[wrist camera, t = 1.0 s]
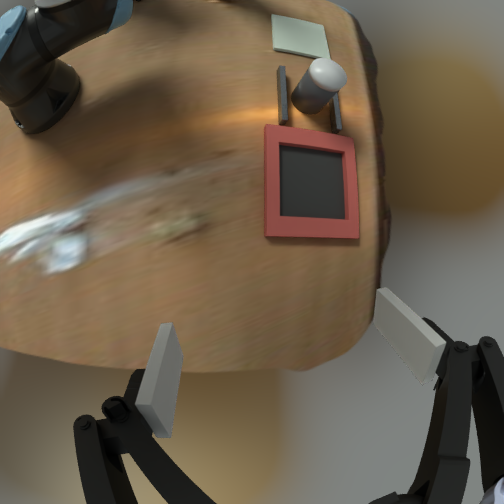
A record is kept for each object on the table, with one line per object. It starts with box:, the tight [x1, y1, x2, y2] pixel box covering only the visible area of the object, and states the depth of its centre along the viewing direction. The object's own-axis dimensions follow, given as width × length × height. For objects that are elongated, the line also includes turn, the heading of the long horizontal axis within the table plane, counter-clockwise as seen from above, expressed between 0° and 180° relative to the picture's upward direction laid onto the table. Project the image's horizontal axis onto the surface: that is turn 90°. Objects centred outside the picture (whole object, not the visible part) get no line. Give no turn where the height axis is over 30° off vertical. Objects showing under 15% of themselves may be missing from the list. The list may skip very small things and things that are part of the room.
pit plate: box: [264, 124, 359, 239], centre depth 42 cm, size 18×16×2 cm
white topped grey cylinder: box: [291, 58, 347, 115], centre depth 38 cm, size 6×6×10 cm
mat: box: [271, 14, 331, 60], centre depth 42 cm, size 12×12×1 cm
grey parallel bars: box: [277, 66, 342, 134], centre depth 42 cm, size 12×11×2 cm
